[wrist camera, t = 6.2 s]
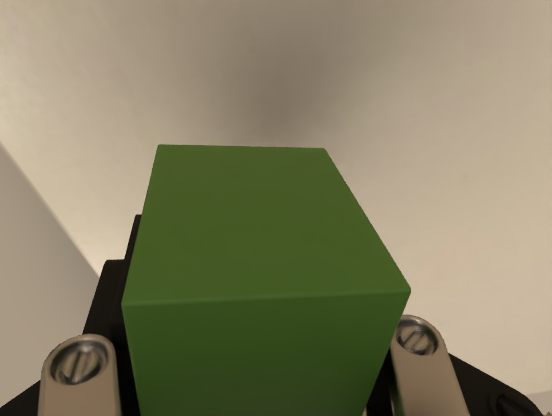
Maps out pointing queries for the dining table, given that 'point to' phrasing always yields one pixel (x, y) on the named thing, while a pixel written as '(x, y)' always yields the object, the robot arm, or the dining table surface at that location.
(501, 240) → the dining table surface
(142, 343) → the snack box
